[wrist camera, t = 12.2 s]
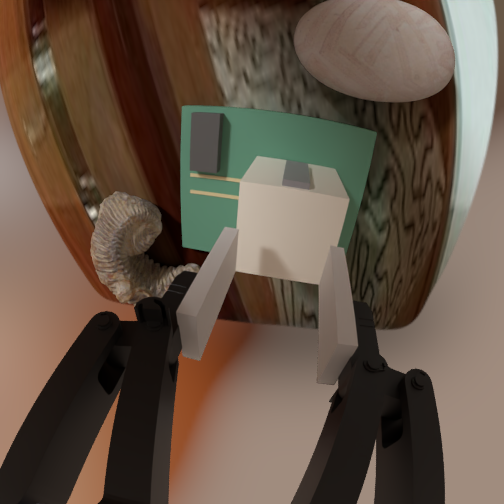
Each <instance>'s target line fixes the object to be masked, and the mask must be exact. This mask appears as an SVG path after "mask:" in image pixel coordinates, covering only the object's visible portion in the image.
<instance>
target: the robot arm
mask: <svg viewBox="0 0 504 504" xmlns="http://www.w3.org/2000/svg"><path fill="white" fill-rule="evenodd" d="M238 232H239V229H235V228H229V227H225V228H224V229H223V231H222V233H221V234H220V236H219V238H218V239H217V241H216V243H215V244H214V246H213V248H212V250H211V251H210V253H209V255H208V256H207V258H206V260H205V262H204V263H203V265H202V267H201V269H200V270H199V272H198V273H195V272H190V271H186V270H184V271H183V272H181V273H180V274H178V275H177V276H176V277H175V278H174V280H173V282H172V283H171V285H170V286H169V288H168V290H167V291H166V292H165V294H164V295H163V297H162V298H159V297H146V298H144V299H141V300H140V301H139V302H137V303H136V305H135V307H134V309H135V313H136V317H137V320H138V321H120V320H119V318H118V316H117V315H116V314H114V313H113V312H108V311H105V312H100V313H98V314H96V315H95V316H94V317H93V318H92V319H91V320H90V321H89V323H88V324H87V325H86V327H85V328H84V329H83V331H82V332H81V334H80V335H79V336H78V338H77V339H76V340H75V342H74V343H73V345H72V346H71V347H70V349H69V350H68V352H67V353H66V355H65V356H64V358H63V359H62V361H61V362H60V364H59V365H58V367H57V368H56V369H55V371H54V373H53V374H52V376H51V377H50V379H49V380H48V382H47V383H46V385H45V387H44V388H43V390H42V392H41V393H40V395H39V396H38V398H37V400H36V401H35V403H34V405H33V407H32V408H31V410H30V412H29V413H28V415H27V417H26V419H25V421H24V422H23V424H22V426H21V428H20V430H19V432H18V433H17V435H16V437H15V439H14V441H13V443H12V445H11V447H10V449H9V451H8V453H7V455H6V458H5V460H4V462H3V464H2V466H1V468H0V504H66V503H67V501H68V499H69V497H70V495H71V493H72V490H73V488H74V486H75V483H76V481H77V479H78V476H79V474H80V472H81V470H82V467H83V465H84V463H85V460H86V458H87V456H88V454H89V452H90V450H91V448H92V445H93V443H94V441H95V438H96V437H97V435H98V433H99V430H100V428H101V427H102V425H103V423H104V420H105V418H106V416H107V414H108V412H109V410H110V408H111V406H112V404H113V403H114V401H115V399H116V397H117V395H118V393H119V391H120V395H119V399H118V404H117V409H116V414H115V419H114V424H113V430H112V435H111V442H110V447H109V454H108V461H107V469H106V476H105V485H104V495H103V498H102V500H101V501H100V502H99V503H98V504H168V494H169V468H170V451H171V436H172V423H173V412H174V401H175V392H176V382H177V374H178V366H179V363H178V356H179V354H180V352H181V349H182V353H183V356H184V357H188V358H191V359H196V360H199V361H200V359H201V357H202V354H203V351H204V349H205V346H206V344H207V341H208V339H209V336H210V334H211V331H212V328H213V326H214V323H215V321H216V318H217V316H218V313H219V311H220V308H221V306H222V303H223V301H224V298H225V296H226V293H227V291H228V288H229V286H230V283H231V281H232V278H233V276H234V273H235V271H236V259H237V245H238ZM337 379H338V389H337V390H336V392H335V393H334V395H333V396H332V397H331V399H330V401H329V402H332V404H331V407H330V410H329V413H328V416H327V418H326V422H325V424H324V427H323V430H322V433H321V435H320V438H319V440H318V443H317V446H316V448H315V451H314V453H313V456H312V458H311V461H310V463H309V465H308V468H307V470H306V472H305V475H304V477H303V479H302V481H301V483H300V486H299V488H298V490H297V492H296V494H295V496H294V498H293V500H292V502H291V504H357V501H358V498H359V495H360V492H361V490H362V486H363V483H364V480H365V477H366V474H367V470H368V467H369V464H370V460H371V456H372V452H373V449H374V444H375V440H376V484H375V499H374V504H445V482H444V462H443V451H442V441H441V433H440V425H439V418H438V413H437V407H436V401H435V396H434V391H433V386H432V382H431V379H430V377H429V376H428V374H427V373H426V372H424V371H422V370H420V369H411V370H410V371H408V372H407V373H406V374H404V373H401V372H399V371H396V370H393V369H391V368H389V367H388V364H387V363H386V361H385V359H384V358H383V357H382V356H381V355H380V354H379V349H378V343H377V337H376V331H375V325H374V321H373V315H372V311H371V309H370V308H369V306H368V305H367V303H364V302H358V301H353V300H352V293H351V287H350V280H349V274H348V268H347V263H346V257H345V252H344V248H341V247H336V246H331V245H330V248H329V252H328V255H327V259H326V262H325V266H324V269H323V273H322V276H321V279H320V283H319V335H318V369H317V383H321V384H329V385H334V384H335V383H336V381H337ZM120 389H121V390H120Z"/></svg>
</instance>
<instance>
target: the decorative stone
mask: <svg viewBox="0 0 504 504" xmlns="http://www.w3.org/2000/svg"><path fill="white" fill-rule="evenodd" d="M294 46H295V51H296V54H297V56H298V58H299V60H300V62H301V63H302V65H303V66H304V67H305V68H306V70H307V71H308V72H309V73H310V74H311V75H312V76H313V77H315V78H316V79H317V80H318V81H320V82H321V83H323V84H324V85H326V86H328V87H330V88H332V89H334V90H336V91H338V92H341V93H343V94H346V95H349V96H353V97H356V98H360V99H365V100H371V101H379V102H410V101H416V100H421V99H424V98H428V97H430V96H432V95H434V94H436V93H438V92H439V91H441V90H442V89H443V88H444V87H445V86H446V85H447V84H448V82H449V81H450V79H451V77H452V75H453V72H454V68H455V54H454V49H453V46H452V43H451V41H450V39H449V37H448V35H447V33H446V31H445V30H444V29H443V28H442V26H441V25H440V24H439V23H438V22H437V21H436V20H435V19H434V18H433V17H432V16H430V15H429V14H427V13H426V12H424V11H423V10H421V9H419V8H417V7H415V6H413V5H411V4H408V3H405V2H402V1H399V0H328V1H325V2H322V3H320V4H318V5H316V6H315V7H313V8H311V9H310V10H309V11H307V12H306V13H305V14H304V15H303V16H302V18H301V19H300V20H299V22H298V24H297V26H296V29H295V33H294Z"/></svg>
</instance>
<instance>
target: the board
mask: <svg viewBox="0 0 504 504" xmlns="http://www.w3.org/2000/svg"><path fill="white" fill-rule="evenodd" d="M376 135H377V132H375V131H373V130H369V129H365V128H361V127H357V126H353V125H349V124H345V123H340V122H335V121H331V120H326V119H321V118H315V117H310V116H304V115H297V114H291V113H284V112H276V111H268V110H259V109H249V108H237V107H222V106H191V105H188V106H182V123H181V221H182V245H183V247H186V248H192V249H197V250H202V251H208V252H210V251H211V250H212V248H213V246H214V244H215V243H216V241H217V239H218V238H219V236H220V234H221V233H222V231H223V229H224V228H225V227H229V228H235V229H236V227H237V214H238V200H239V188H240V180H241V179H242V177H243V176H244V175H245V173H246V172H247V170H248V169H249V167H250V166H251V164H252V163H253V161H254V160H255V158H256V157H257V156H262V157H269V158H276V159H283V160H290V161H296V162H302V163H308V164H313V165H319V166H324V167H329V168H334V169H336V171H337V173H338V175H339V178H340V180H341V182H342V184H343V186H344V188H345V190H346V192H347V195H348V197H349V199H350V200H349V204H348V208H347V212H346V216H345V220H344V223H343V227H342V231H341V234H340V238H339V241H338V245H337V247H341V248H344V252H345V256H346V253H347V249H348V246H349V243H350V240H351V236H352V233H353V230H354V226H355V223H356V219H357V215H358V212H359V208H360V204H361V201H362V197H363V193H364V189H365V185H366V181H367V177H368V172H369V168H370V164H371V159H372V155H373V150H374V145H375V140H376Z"/></svg>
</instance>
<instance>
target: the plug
mask: <svg viewBox="0 0 504 504" xmlns="http://www.w3.org/2000/svg"><path fill="white" fill-rule="evenodd" d="M349 200H350V199H349V197H348V195H347V192H346V190H345V188H344V186H343V184H342V182H341V180H340V178H339V175H338V173H337V171H336V169H334V168H329V167H324V166H319V165H313V164H308V163H302V162H296V161H290V160H283V159H276V158H269V157H262V156H257V157H256V158H255V160H254V161H253V163H252V164H251V166H250V167H249V169H248V170H247V172H246V173H245V175H244V176H243V177H242V179H241V180H240V188H239V200H238V214H237V227H236V229H239V232H238V245H237V259H236V271H238V272H244V273H250V274H256V275H262V276H268V277H274V278H280V279H286V280H292V281H298V282H305V283H311V284H317V285H319V283H320V279H321V276H322V273H323V269H324V266H325V262H326V259H327V255H328V252H329V248H330V245H331V246H336V247H337V245H338V241H339V238H340V234H341V231H342V227H343V223H344V220H345V216H346V212H347V208H348V204H349Z"/></svg>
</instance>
